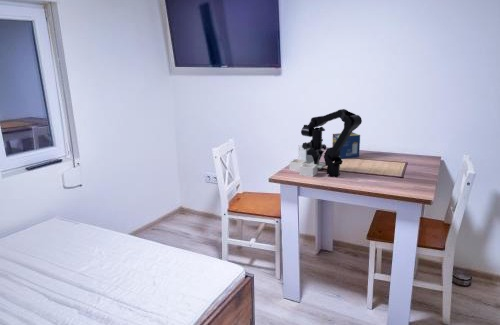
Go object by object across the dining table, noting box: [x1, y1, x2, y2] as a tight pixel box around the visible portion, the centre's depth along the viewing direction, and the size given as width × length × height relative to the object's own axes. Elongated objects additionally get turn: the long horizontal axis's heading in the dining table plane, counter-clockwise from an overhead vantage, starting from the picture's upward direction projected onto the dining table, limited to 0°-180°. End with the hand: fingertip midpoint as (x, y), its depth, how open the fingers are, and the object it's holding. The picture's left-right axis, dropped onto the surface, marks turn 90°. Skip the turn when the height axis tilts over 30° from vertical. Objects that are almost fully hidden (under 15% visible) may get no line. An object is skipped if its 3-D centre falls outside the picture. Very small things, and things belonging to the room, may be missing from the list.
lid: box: [310, 159, 326, 169], centre depth 222 cm, size 9×9×5 cm
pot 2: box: [298, 163, 318, 178], centre depth 214 cm, size 8×8×6 cm
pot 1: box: [289, 158, 307, 172], centre depth 224 cm, size 8×8×6 cm
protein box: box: [331, 131, 361, 160], centre depth 253 cm, size 10×15×16 cm
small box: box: [297, 143, 314, 164], centre depth 234 cm, size 8×6×13 cm
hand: (316, 163), depth 223 cm, fingers closed on lid, 3 cm apart
